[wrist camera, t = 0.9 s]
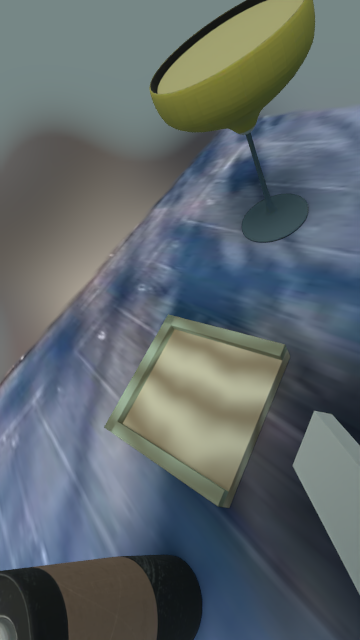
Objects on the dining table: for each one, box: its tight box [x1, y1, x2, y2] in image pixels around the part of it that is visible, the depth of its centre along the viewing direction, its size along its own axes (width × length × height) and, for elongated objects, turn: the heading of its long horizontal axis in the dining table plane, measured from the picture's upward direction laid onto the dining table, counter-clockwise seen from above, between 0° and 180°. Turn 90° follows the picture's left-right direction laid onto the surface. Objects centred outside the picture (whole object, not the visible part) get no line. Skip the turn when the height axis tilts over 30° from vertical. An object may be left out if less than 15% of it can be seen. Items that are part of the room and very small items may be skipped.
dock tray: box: [104, 315, 290, 508], centre depth 38 cm, size 18×18×3 cm
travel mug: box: [0, 555, 202, 640], centre depth 22 cm, size 8×8×20 cm
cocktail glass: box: [150, 0, 315, 242], centre depth 41 cm, size 18×18×25 cm
